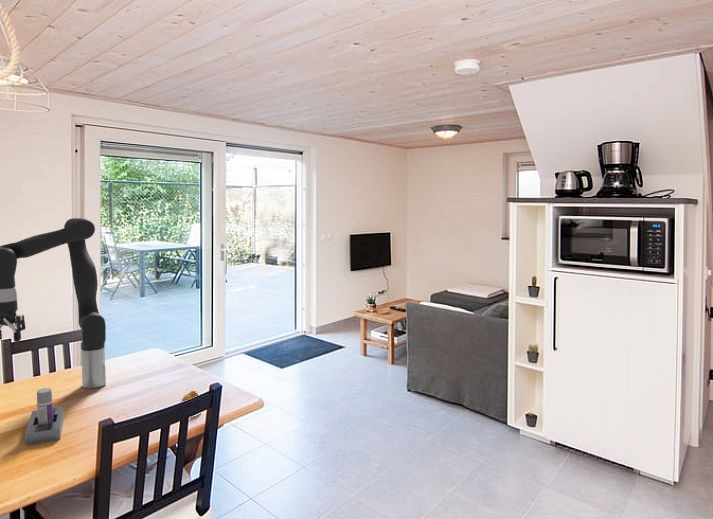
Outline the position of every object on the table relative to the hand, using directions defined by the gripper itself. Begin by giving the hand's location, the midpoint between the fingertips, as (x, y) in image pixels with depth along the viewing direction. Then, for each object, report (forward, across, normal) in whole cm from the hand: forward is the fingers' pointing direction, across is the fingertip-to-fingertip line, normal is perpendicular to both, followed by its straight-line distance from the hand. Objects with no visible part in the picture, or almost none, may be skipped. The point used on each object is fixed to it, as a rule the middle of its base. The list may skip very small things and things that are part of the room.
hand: (7, 340), depth 186 cm
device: (+28, -26, +11) cm, 40 cm away
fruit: (+29, -67, -17) cm, 75 cm away
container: (+28, -26, +11) cm, 40 cm away
